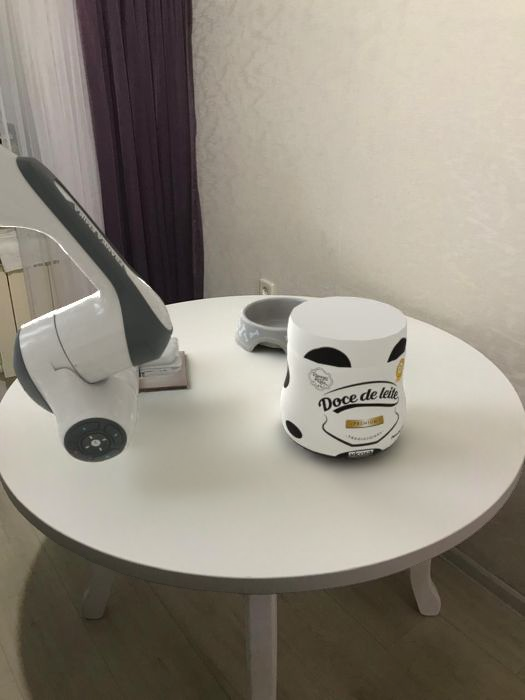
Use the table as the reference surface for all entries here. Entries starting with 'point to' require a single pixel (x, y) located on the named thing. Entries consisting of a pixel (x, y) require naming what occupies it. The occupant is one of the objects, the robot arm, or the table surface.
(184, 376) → the placemat
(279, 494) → the table surface
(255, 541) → the table surface
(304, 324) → the milk container
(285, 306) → the dog bowl
